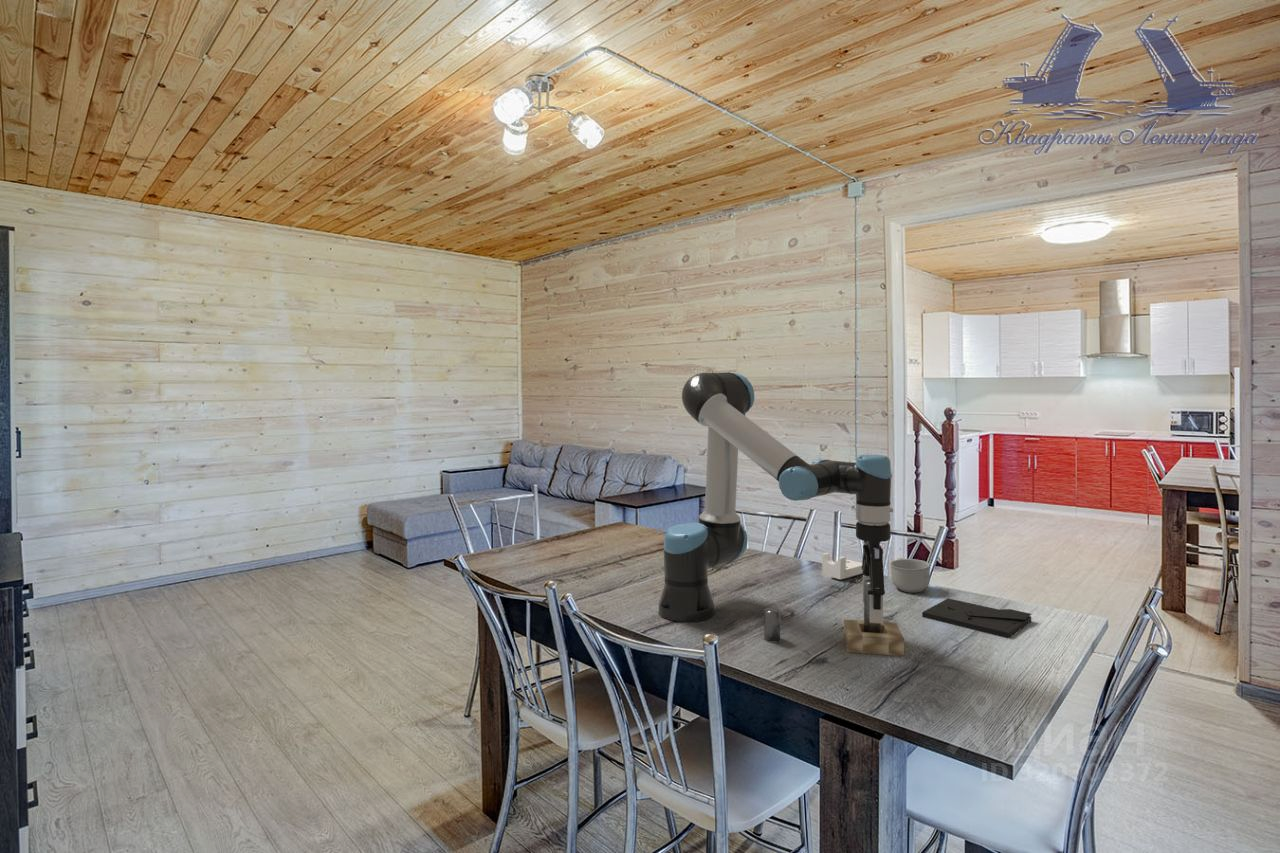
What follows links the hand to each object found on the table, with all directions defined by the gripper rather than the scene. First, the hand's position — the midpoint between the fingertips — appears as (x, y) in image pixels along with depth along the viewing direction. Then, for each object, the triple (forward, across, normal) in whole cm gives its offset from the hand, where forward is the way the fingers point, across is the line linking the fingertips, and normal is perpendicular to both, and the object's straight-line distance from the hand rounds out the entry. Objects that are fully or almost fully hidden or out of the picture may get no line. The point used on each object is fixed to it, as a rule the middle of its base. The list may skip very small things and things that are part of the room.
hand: (872, 612), depth 154 cm
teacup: (+8, +47, -16) cm, 50 cm away
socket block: (+8, 0, 0) cm, 8 cm away
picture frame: (+9, +22, -28) cm, 37 cm away
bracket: (+8, +57, +1) cm, 58 cm away
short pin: (+8, 0, +23) cm, 24 cm away
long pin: (+8, 0, 0) cm, 8 cm away
